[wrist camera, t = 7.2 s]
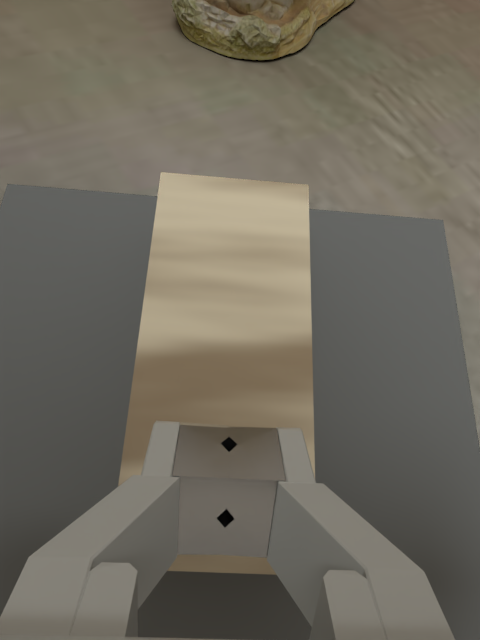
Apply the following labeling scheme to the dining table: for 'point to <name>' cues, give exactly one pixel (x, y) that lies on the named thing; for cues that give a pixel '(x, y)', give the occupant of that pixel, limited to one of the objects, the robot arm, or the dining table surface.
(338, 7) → the ceramic model
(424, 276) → the rubber mat
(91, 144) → the dining table surface
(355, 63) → the dining table surface
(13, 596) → the robot arm
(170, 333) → the birch block
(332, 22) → the dining table surface
